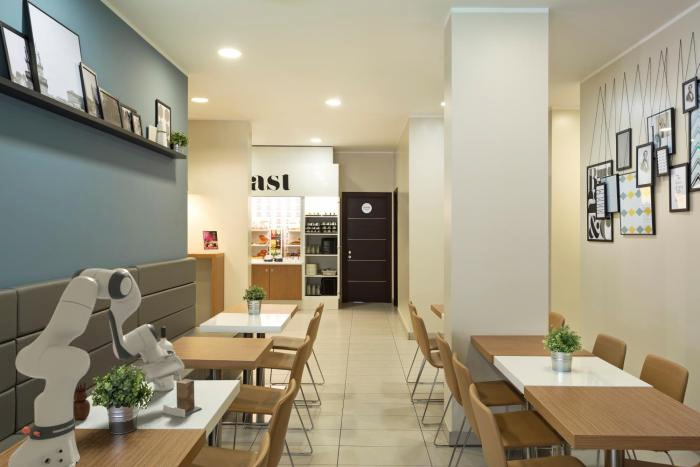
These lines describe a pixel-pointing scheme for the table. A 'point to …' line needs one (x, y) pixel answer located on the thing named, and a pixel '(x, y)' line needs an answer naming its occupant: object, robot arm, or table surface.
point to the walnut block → (185, 394)
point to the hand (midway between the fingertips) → (171, 384)
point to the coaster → (193, 410)
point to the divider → (174, 411)
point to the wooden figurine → (81, 403)
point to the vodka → (165, 345)
